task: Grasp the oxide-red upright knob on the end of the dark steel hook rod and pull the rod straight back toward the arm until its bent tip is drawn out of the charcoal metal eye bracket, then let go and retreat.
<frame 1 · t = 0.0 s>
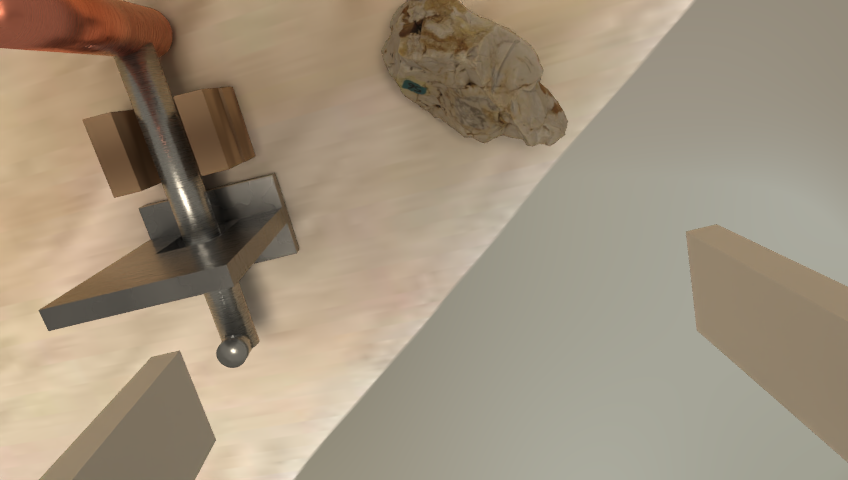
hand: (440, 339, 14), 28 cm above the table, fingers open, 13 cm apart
cradle: (190, 135, 40), on the table
eye bracket: (223, 227, 42), on the table
rock: (466, 81, 40), on the table
hook: (157, 208, 33), point 8 cm above the table, slide at 0.0 cm
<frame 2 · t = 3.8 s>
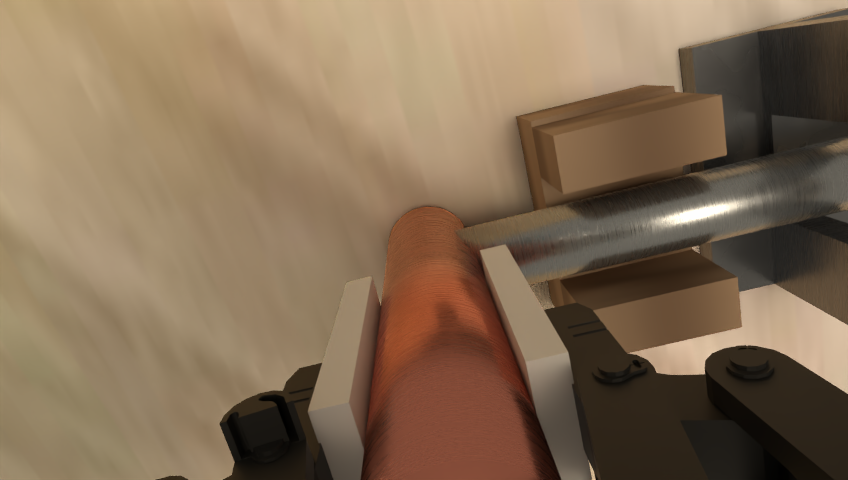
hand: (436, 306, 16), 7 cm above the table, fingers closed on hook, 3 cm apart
cradle: (595, 199, 23), on the table
eye bracket: (766, 158, 23), on the table
hook: (831, 236, 15), point 8 cm above the table, slide at 0.0 cm, touching gripper
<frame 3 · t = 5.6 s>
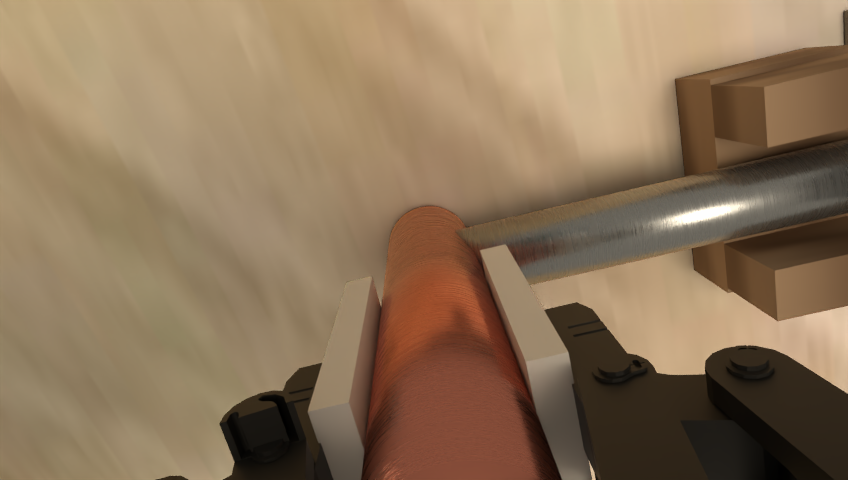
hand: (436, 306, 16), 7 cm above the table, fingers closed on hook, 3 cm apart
cradle: (746, 165, 23), on the table
hook: (832, 238, 15), point 9 cm above the table, slide at 6.2 cm, touching gripper
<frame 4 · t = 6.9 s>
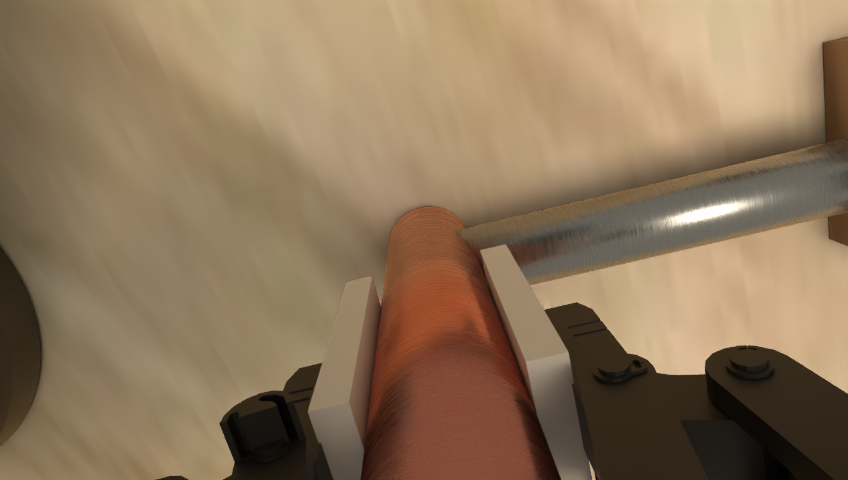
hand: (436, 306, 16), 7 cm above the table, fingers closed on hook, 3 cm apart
hook: (832, 238, 15), point 9 cm above the table, slide at 11.9 cm, touching gripper
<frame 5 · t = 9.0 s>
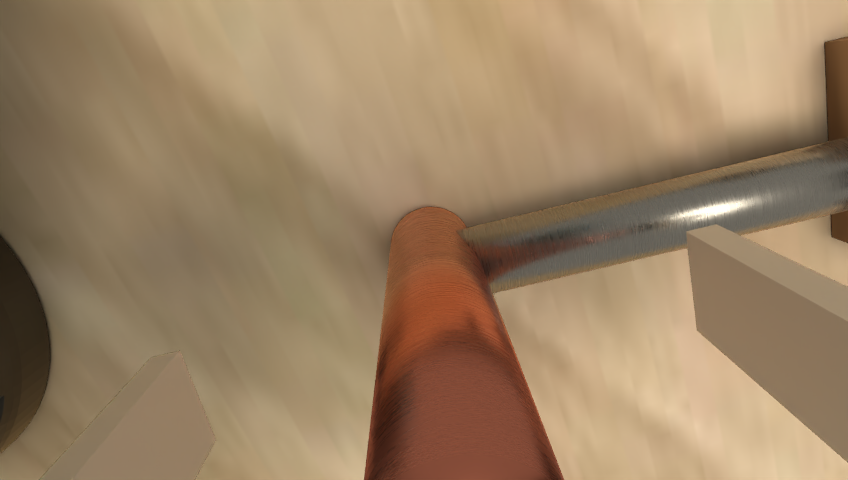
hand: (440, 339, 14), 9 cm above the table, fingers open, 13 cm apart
hook: (829, 236, 15), point 8 cm above the table, slide at 12.0 cm
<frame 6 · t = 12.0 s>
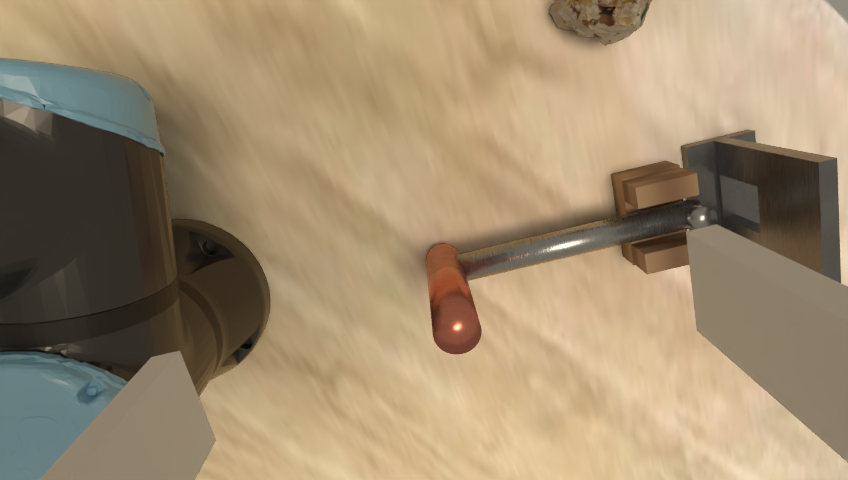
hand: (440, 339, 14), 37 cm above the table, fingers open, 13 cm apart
cradle: (643, 209, 52), on the table
eye bracket: (719, 191, 51), on the table
hook: (579, 260, 44), point 8 cm above the table, slide at 12.0 cm
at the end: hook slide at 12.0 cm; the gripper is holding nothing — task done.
